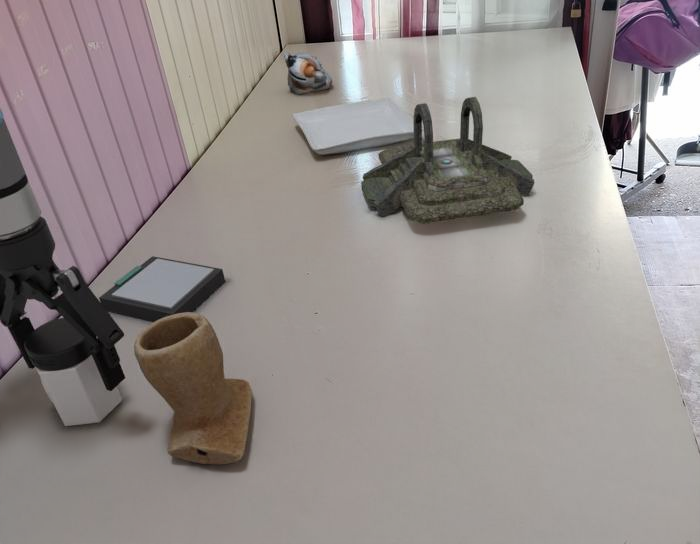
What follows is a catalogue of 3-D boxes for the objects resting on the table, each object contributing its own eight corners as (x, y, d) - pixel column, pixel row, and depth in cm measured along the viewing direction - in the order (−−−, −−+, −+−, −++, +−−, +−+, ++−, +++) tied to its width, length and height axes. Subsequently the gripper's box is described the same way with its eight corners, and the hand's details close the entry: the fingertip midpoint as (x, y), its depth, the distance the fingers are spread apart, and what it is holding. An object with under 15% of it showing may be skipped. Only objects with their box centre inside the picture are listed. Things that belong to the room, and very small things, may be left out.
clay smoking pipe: (173, 391, 87) (143, 300, 78) (258, 385, 87) (238, 293, 78) (147, 476, 76) (107, 381, 66) (246, 469, 75) (220, 373, 66)
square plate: (292, 127, 169) (290, 112, 166) (390, 110, 173) (389, 95, 171) (314, 163, 148) (312, 146, 145) (425, 143, 152) (425, 127, 150)
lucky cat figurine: (341, 85, 195) (336, 48, 182) (318, 111, 192) (311, 75, 179) (303, 66, 199) (295, 28, 186) (279, 91, 196) (270, 55, 183)
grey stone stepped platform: (559, 217, 118) (573, 119, 107) (382, 243, 116) (377, 145, 104) (496, 150, 145) (502, 66, 134) (352, 169, 143) (345, 86, 132)
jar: (51, 400, 88) (16, 331, 80) (108, 376, 91) (79, 307, 84) (68, 437, 82) (32, 366, 74) (129, 409, 85) (100, 338, 78)
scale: (102, 310, 105) (97, 295, 103) (155, 267, 115) (151, 253, 113) (176, 327, 100) (171, 312, 98) (225, 281, 109) (221, 266, 108)
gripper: (118, 223, 68) (170, 374, 81) (-40, 199, 77) (29, 338, 90) (67, 257, 63) (131, 413, 76) (-96, 227, 72) (-14, 370, 85)
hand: (76, 373), depth 83 cm, fingers open, 13 cm apart
